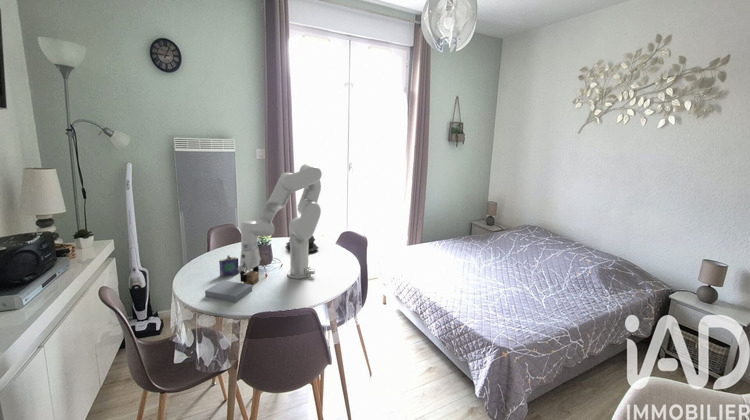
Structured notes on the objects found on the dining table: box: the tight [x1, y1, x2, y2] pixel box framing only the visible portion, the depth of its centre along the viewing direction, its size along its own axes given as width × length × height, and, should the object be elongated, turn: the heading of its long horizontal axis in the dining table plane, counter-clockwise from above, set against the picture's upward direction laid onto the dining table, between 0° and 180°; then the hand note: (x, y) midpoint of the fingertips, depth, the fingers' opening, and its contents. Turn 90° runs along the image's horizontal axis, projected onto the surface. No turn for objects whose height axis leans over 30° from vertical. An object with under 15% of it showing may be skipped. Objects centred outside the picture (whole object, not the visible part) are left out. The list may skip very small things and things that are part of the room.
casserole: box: [285, 234, 319, 253], centre depth 216 cm, size 25×19×8 cm
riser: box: [204, 279, 253, 303], centre depth 150 cm, size 16×12×3 cm
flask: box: [218, 254, 240, 278], centre depth 170 cm, size 9×3×11 cm, turn 121°
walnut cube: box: [243, 270, 260, 286], centre depth 163 cm, size 5×5×5 cm
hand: (249, 278), depth 162 cm, fingers open, 9 cm apart
